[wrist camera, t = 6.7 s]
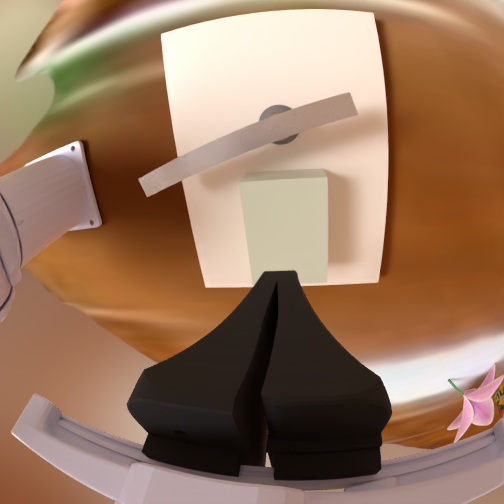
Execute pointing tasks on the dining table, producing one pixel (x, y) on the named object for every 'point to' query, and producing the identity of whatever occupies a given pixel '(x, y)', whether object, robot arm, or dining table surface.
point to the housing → (295, 146)
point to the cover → (287, 222)
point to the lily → (477, 404)
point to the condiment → (500, 398)
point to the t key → (249, 140)
